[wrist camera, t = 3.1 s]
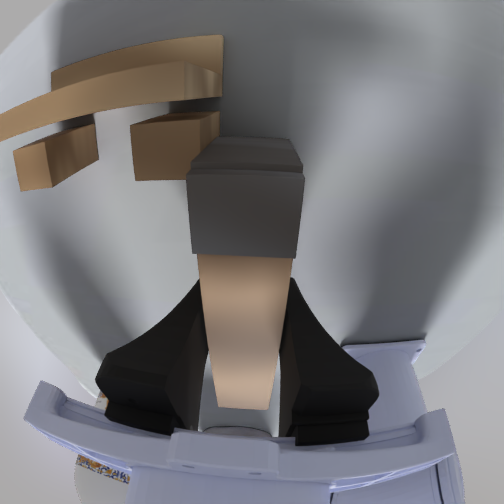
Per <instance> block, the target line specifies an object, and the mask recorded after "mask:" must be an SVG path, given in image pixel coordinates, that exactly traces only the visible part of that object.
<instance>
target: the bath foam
mask: <svg viewBox="0 0 504 504" xmlns="http://www.w3.org/2000/svg"><path fill="white" fill-rule="evenodd" d="M108 402H109V400H108V399H107V398H106V396H105V395H104V394H103V393H102V391H101V390H100V393H99V396H98V398H97V401H96V404H95V406H94V407H96V408H99V409H102V410H105V411H106V408H107V405H108ZM74 474H75V475H74V479H75V486H76V490H77V493H78V496H79V498H80V501H81V503H82V504H125V499H126V494H127V490H128V485H129V481H130V476H131V475H129V474H127V473H124V472H121V471H118V470H115V469H113V468H110V467H108V466H105V465H103V464H100V463H98V462H95V461H93V460H91V459H89V458H86V457H84V456H82V455H80V454H78V458H77V461H76V466H75V473H74Z"/></svg>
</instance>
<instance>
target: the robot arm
mask: <svg viewBox="0 0 504 504" xmlns="http://www.w3.org/2000/svg"><path fill="white" fill-rule="evenodd" d="M425 346H426V341H425V340H415V341H405V342H393V343H380V344H362V345H346V346H343V347H342V348H341V347H340V346H339V345H338V344H337V343H336V342H335V341H334V340H333V338H332V337H331V336H330V335H329V334H328V333H327V332H326V330H325V329H324V328H323V327H322V325H321V324H320V323H319V321H318V320H317V319H316V317H315V316H314V314H313V313H312V311H311V310H310V308H309V306H308V305H307V303H306V301H305V300H304V298H303V296H302V294H301V292H300V290H299V288H298V286H297V284H296V282H295V279H294V278H291V277H290V283H289V290H288V297H287V304H286V310H285V317H284V323H283V329H282V336H281V342H280V348H279V357H280V370H281V379H280V416H279V436H278V437H253V436H236V435H225V434H215V433H207V432H199V431H198V421H199V410H200V400H201V392H202V384H203V376H204V369H205V364H206V359H207V355H208V351H209V348H208V341H207V334H206V327H205V319H204V312H203V304H202V296H201V287H200V278H199V280H198V281H197V282H196V284H195V285H194V286H193V287H192V289H191V290H190V291H189V292H188V293H187V295H186V296H185V297H184V298H183V299H182V300H181V302H180V303H179V304H178V305H177V306H176V307H175V308H174V309H173V310H172V311H171V312H170V313H169V314H168V315H167V316H166V317H164V318H163V319H162V320H161V321H160V322H159V323H158V324H156V325H155V326H154V327H152V328H151V329H150V330H148V331H147V332H146V333H144V334H143V335H141V336H140V337H138V338H137V339H135V340H133V341H131V342H130V343H128V344H126V345H124V346H122V347H120V348H118V349H116V350H114V351H112V352H110V353H107V355H106V357H105V358H104V360H103V362H102V364H101V366H100V369H99V371H98V373H97V376H96V378H95V381H96V384H97V386H98V387H99V389H100V390H101V391H102V393H103V394H104V395H105V396H106V398H107V399H108V400H109V402H108V405H107V408H106V411H105V410H102V409H99V408H96V407H93V406H90V405H87V404H85V403H82V402H79V401H77V400H74V399H71V398H68V397H67V396H66V395H65V393H64V392H63V391H62V390H61V389H59V388H58V387H56V386H54V385H51V384H49V383H47V382H44V381H40V383H39V385H38V387H37V389H36V392H35V394H34V396H33V398H32V400H31V402H30V404H29V407H28V409H27V411H26V413H25V416H24V420H25V421H26V422H27V423H28V424H30V425H31V426H32V427H34V428H35V429H36V430H38V431H39V432H40V433H42V434H43V435H44V436H46V437H47V438H49V439H50V440H52V441H54V442H55V443H57V444H59V445H61V446H64V447H65V448H67V449H69V450H71V451H73V452H76V453H78V454H80V455H82V456H84V457H86V458H89V459H91V460H93V461H95V462H98V463H100V464H103V465H105V466H108V467H110V468H113V469H115V470H118V471H121V472H124V473H127V474H129V475H131V476H130V481H129V485H128V490H127V494H126V499H125V504H465V500H464V484H463V477H462V472H461V467H460V463H459V459H458V455H457V453H456V448H455V444H454V440H453V436H452V432H451V429H450V425H449V421H448V418H447V415H446V412H445V409H444V408H442V409H439V410H435V411H432V412H427V409H426V405H425V402H424V399H423V396H422V392H421V390H420V386H419V383H418V380H417V377H416V374H415V371H414V368H413V366H412V365H413V363H414V362H415V361H416V359H417V358H418V356H419V355H420V354H421V352H422V351H423V349H424V348H425Z"/></svg>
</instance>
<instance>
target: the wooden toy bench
mask: <svg viewBox="0 0 504 504" xmlns="http://www.w3.org/2000/svg"><path fill="white" fill-rule="evenodd" d="M223 43H224V37H223V36H222V35H206V36H194V37H185V38H177V39H170V40H163V41H157V42H151V43H146V44H141V45H136V46H132V47H128V48H123V49H119V50H115V51H112V52H108V53H104V54H101V55H98V56H94V57H91V58H88V59H85V60H82V61H79V62H76V63H74V64H71V65H68V66H66V67H63V68H60V69H58V70H55V71H53V72H51V92H49V93H47V94H44V95H42V96H39V97H37V98H34V99H32V100H30V101H27V102H25V103H23V104H21V105H19V106H16V107H14V108H12V109H10V110H8V111H6V112H4V113H2V114H0V142H1V141H3V140H6V139H8V138H11V137H13V136H16V135H19V134H22V133H24V132H27V131H30V130H33V129H36V128H39V127H42V126H45V125H49V124H52V123H56V122H59V121H63V120H66V119H70V118H74V117H78V116H82V115H87V114H91V113H96V112H101V111H106V110H111V109H116V108H122V107H128V106H135V105H142V104H150V103H158V102H168V101H180V100H190V99H198V98H209V97H221V96H222V82H223ZM130 133H131V145H132V155H133V165H134V173H135V181H147V180H186V174H187V173H188V172H189V171H190V170H191V164H190V162H191V161H192V160H193V159H194V158H195V157H196V156H197V155H198V154H199V153H200V152H201V151H203V150H204V149H205V148H206V147H207V146H208V145H209V144H210V143H211V142H212V141H213V140H214V139H215V138H216V137H218V136H220V111H207V112H185V113H171V114H166V115H162V116H158V117H155V118H152V119H148V120H145V121H142V122H139V123H136V124H133V125H130ZM13 155H14V161H15V166H16V171H17V176H18V181H19V185H20V190H21V191H28V190H35V189H43V188H51V187H54V186H55V185H57V184H58V183H60V182H62V181H63V180H65V179H66V178H68V177H70V176H71V175H73V174H75V173H76V172H78V171H80V170H81V169H83V168H85V167H86V166H88V165H90V164H92V163H94V162H95V161H97V160H99V159H98V151H97V142H96V133H95V124H91V125H86V126H81V127H77V128H72V129H68V130H64V131H61V132H58V133H55V134H52V135H50V136H47V137H45V138H42V139H40V140H37V141H35V142H32V143H30V144H28V145H25V146H23V147H21V148H19V149H17V150H14V151H13Z"/></svg>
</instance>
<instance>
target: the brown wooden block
mask: <svg viewBox="0 0 504 504" xmlns="http://www.w3.org/2000/svg"><path fill="white" fill-rule="evenodd" d="M190 164H191V170H190V171H189V172H188V173H187V174H186V184H187V198H188V211H189V223H190V233H191V244H192V253H193V254H197V259H198V269H199V278H200V287H201V296H202V304H203V312H204V319H205V327H206V334H207V341H208V348H209V354H210V361H211V367H212V373H213V379H214V385H215V391H216V397H217V402H218V407H226V408H239V409H257V410H268V408H269V403H270V397H271V392H272V387H273V382H274V376H275V371H276V365H277V359H278V353H279V348H280V342H281V336H282V329H283V323H284V317H285V310H286V304H287V297H288V290H289V283H290V276H291V269H292V261H293V258H294V259H295V258H296V251H297V243H298V235H299V227H300V219H301V210H302V202H303V193H304V183H305V178H304V175H303V165H302V163H301V161H300V159H299V157H298V155H297V153H296V151H295V149H294V147H293V145H292V143H291V141H290V139H283V138H266V137H231V136H218V137H216V138H215V139H214V140H213V141H212V142H211V143H210V144H209V145H208V146H207V147H206V148H205V149H204V150H203V151H201V152H200V153H199V154H198V155H197V156H196V157H195V158H194V159H193V160H192V161H191V162H190Z"/></svg>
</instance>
